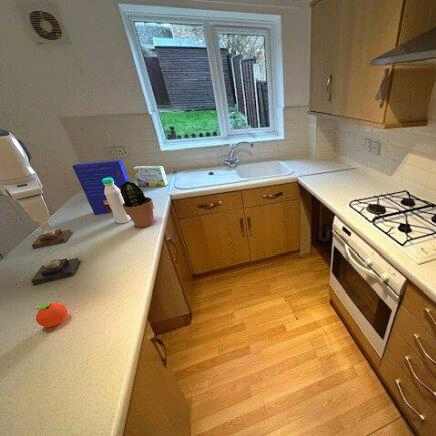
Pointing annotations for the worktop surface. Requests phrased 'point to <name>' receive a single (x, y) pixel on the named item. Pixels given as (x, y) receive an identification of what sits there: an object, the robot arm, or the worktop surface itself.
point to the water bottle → (115, 200)
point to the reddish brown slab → (52, 239)
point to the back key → (49, 232)
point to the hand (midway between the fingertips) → (43, 224)
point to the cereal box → (99, 181)
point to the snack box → (150, 175)
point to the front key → (53, 263)
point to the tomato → (51, 314)
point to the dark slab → (56, 271)
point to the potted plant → (137, 205)
